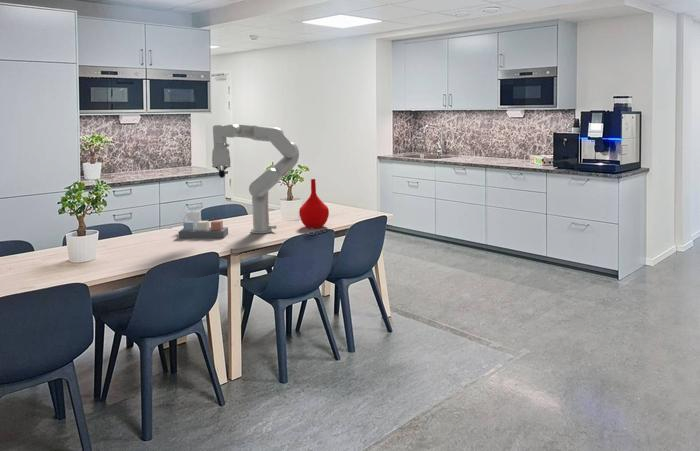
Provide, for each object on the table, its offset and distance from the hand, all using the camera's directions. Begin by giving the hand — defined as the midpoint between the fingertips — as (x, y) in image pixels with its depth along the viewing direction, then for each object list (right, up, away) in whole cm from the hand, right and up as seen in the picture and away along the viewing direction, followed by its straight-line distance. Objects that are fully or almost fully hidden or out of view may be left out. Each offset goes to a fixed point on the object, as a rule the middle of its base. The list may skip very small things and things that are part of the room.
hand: (222, 177), depth 360 cm
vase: (+54, -30, +19) cm, 64 cm away
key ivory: (-10, -33, -5) cm, 34 cm away
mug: (-20, -32, +12) cm, 40 cm away
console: (-10, -35, -4) cm, 36 cm away
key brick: (-2, -33, -5) cm, 33 cm away
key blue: (-18, -33, -5) cm, 37 cm away
